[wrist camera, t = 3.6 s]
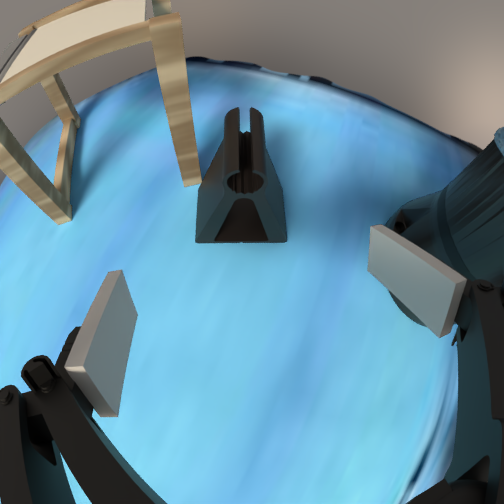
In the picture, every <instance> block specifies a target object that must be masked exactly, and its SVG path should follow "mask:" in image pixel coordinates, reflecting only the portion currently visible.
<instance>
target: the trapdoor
mask: <svg viewBox="0 0 504 504" xmlns="http://www.w3.org/2000/svg"><path fill="white" fill-rule="evenodd" d="M144 21H146V0H111V1H107V2H104V3H101V4H97V5H94V6H91V7H88V8H85V9H82V10H80V11H77V12H74V13H71V14H69V15H66V16H64V17H61V18H59V19H57V20H54V21H52V22H50V23H47V24H45V25H43V26H41V27H39V28H37V29H33V30H32V31H31V32H30V34H29V35H27V34H26V35H24V36H22V37H20V38H18V39H17V40H15V41H13V42H11V43H10V44H9V45H8V46H7V48H6V49H5V50H4V51H3V53H2V54H1V55H0V84H1V83H2V82H4V81H6V80H7V79H9V78H10V77H12V76H14V75H15V74H17V73H19V72H20V71H22V70H24V69H26V68H27V67H29V66H31V65H33V64H35V63H37V62H38V61H40V60H42V59H44V58H46V57H48V56H50V55H52V54H55V53H57V52H59V51H61V50H63V49H65V48H68V47H70V46H72V45H75V44H77V43H80V42H82V41H85V40H87V39H90V38H92V37H95V36H98V35H101V34H103V33H106V32H109V31H112V30H116V29H119V28H122V27H125V26H129V25H132V24H136V23H140V22H144ZM5 102H6V101H5ZM5 102H3V103H5ZM3 103H2V104H3ZM2 104H0V105H2Z"/></svg>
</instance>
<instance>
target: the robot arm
mask: <svg viewBox="0 0 504 504" xmlns="http://www.w3.org/2000/svg"><path fill="white" fill-rule="evenodd" d="M494 136H495V138H494V140H493V141H492V142H491V143H490V144H489V145H488V146H487V147H486V148H485V149H484V150H483V151H482V152H481V153H480V154H479V155H478V156H477V157H476V158H475V159H474V160H473V161H472V162H471V163H470V164H469V165H468V166H467V167H466V168H465V169H464V170H463V171H462V172H461V173H460V174H459V175H458V176H457V177H456V178H455V179H454V180H453V181H451V182H450V183H449V184H448V185H447V186H446V187H445V188H444V189H443V190H441V191H438V192H435V193H432V194H429V195H426V196H423V197H420V198H417V199H415V200H412V201H410V202H408V203H406V204H405V205H403V206H402V207H401V208H400V209H399V210H398V211H397V212H396V213H395V214H394V215H393V216H392V217H391V218H390V219H389V220H388V222H387V224H386V225H385V226H383V225H382V224H380V225H374V226H370V243H369V258H368V270H367V271H368V272H370V273H371V274H372V275H373V276H374V277H375V278H376V279H377V280H378V281H380V282H381V283H382V284H383V285H384V286H385V287H386V288H387V289H388V291H389V293H390V295H391V296H392V298H393V300H394V301H395V303H396V304H397V306H398V307H399V308H400V309H401V311H402V312H403V313H404V314H405V315H406V316H408V317H409V318H410V319H411V320H413V321H414V322H416V323H418V324H420V325H422V326H425V327H428V328H429V329H430V330H431V331H432V332H433V333H434V334H435V335H436V336H437V337H438V338H441V337H443V336H445V335H447V334H449V333H450V332H451V329H452V326H453V324H458V328H457V331H456V334H455V336H454V339H453V341H452V345H451V346H454V343H455V342H456V341H457V350H458V411H457V425H456V435H455V444H454V452H453V458H452V462H451V465H450V467H449V469H448V470H447V472H446V474H445V477H444V479H443V480H442V481H440V482H439V483H437V484H435V485H434V486H432V487H431V488H429V489H428V490H426V491H424V492H423V493H421V494H419V495H418V496H416V497H414V498H413V499H412V500H410V501H409V502H407V503H406V504H504V127H502V128H499V129H498V130H497V131H496V133H495V134H494ZM137 316H138V314H137V311H136V309H135V306H134V303H133V301H132V298H131V295H130V292H129V289H128V286H127V283H126V280H125V277H124V274H123V271H122V270H117V271H111V272H108V274H107V276H106V278H105V279H104V281H103V283H102V285H101V287H100V289H99V291H98V293H97V295H96V297H95V299H94V301H93V303H92V305H91V307H90V309H89V311H88V313H87V315H86V318H85V320H84V322H83V324H82V326H81V327H75V328H74V330H73V331H72V332H71V333H70V334H69V335H68V337H67V339H66V341H65V345H64V346H63V348H62V352H60V355H59V357H58V359H57V362H56V364H55V366H54V365H53V363H52V361H51V360H50V359H49V358H48V356H44V355H40V356H36V357H34V358H32V359H30V360H29V361H28V362H27V363H26V364H25V365H24V367H23V369H22V371H21V377H22V378H23V380H24V381H25V383H26V384H27V385H28V387H29V388H30V389H31V390H32V391H29V392H26V393H22V394H21V392H20V391H19V390H18V389H17V388H16V386H14V385H8V386H5V387H4V388H2V389H1V390H0V499H1V504H76V503H75V500H74V497H73V494H72V492H71V489H70V486H69V482H68V479H67V476H66V473H65V469H64V466H63V462H62V458H61V454H62V456H63V458H64V460H65V462H66V463H67V465H68V467H69V469H70V470H71V472H72V474H73V475H74V477H75V479H76V480H77V482H78V483H79V485H80V486H81V488H82V490H83V491H84V493H85V494H86V496H87V497H88V498H89V500H90V501H91V503H92V504H167V503H166V502H165V501H164V500H163V499H162V498H161V497H160V496H159V495H158V494H157V493H156V492H155V491H154V490H153V489H152V488H151V487H150V486H149V485H148V484H147V483H146V482H145V481H144V480H143V479H142V478H141V477H140V476H139V475H138V474H137V473H136V471H135V470H134V469H133V468H132V467H131V466H130V465H129V463H128V462H127V461H126V460H125V459H124V458H123V456H122V455H121V454H120V453H119V451H118V450H117V449H116V448H115V446H114V445H113V444H112V443H111V441H110V440H109V439H108V437H107V436H106V435H105V433H104V432H103V431H102V429H101V428H100V427H99V425H98V424H97V422H96V421H95V420H94V419H93V417H92V413H93V408H94V409H95V411H96V412H97V413H98V414H99V416H100V417H118V414H119V407H120V400H121V394H122V388H123V383H124V377H125V372H126V367H127V361H128V357H129V352H130V347H131V342H132V338H133V333H134V329H135V325H136V320H137ZM60 452H61V454H60ZM487 481H488V483H487Z"/></svg>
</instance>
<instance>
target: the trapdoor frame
mask: <svg viewBox="0 0 504 504" xmlns="http://www.w3.org/2000/svg"><path fill="white" fill-rule="evenodd" d="M107 1H111V0H82V1H80V2H77V3H74V4H72V5H70V6H67V7H65V8H63V9H61V10H59V11H57V12H54V13H52V14H50V15H48V16H46V17H44V18H42V19H40V20H39V21H36V22H34V23H32V24H30V25H28V26H27V27H25V28H23V29H22V31H21V32H20V33H19V34H18V35H19V38H20V37H22V36H24V35H26V34H27V35H29V34H30V32H31V31H32V30H33V29H37V28H39V27H41V26H43V25H45V24H47V23H50V22H52V21H54V20H57V19H59V18H61V17H64V16H66V15H69V14H71V13H74V12H77V11H80V10H82V9H85V8H88V7H91V6H94V5H97V4H101V3H104V2H107ZM152 5H153V12H154V17H153V18H149V20H148V21H144V22H140V23H136V24H132V25H129V26H125V27H122V28H119V29H116V30H112V31H109V32H106V33H103V34H101V35H98V36H95V37H92V38H90V39H87V40H85V41H82V42H80V43H77V44H75V45H72V46H70V47H68V48H65V49H63V50H61V51H59V52H57V53H55V54H52V55H50V56H48V57H46V58H44V59H42V60H40V61H38V62H37V63H35V64H33V65H31V66H29V67H27V68H26V69H24V70H22V71H20V72H19V73H17V74H15V75H14V76H12V77H10V78H9V79H7V80H6V81H4V82H2V83H1V84H0V104H2V103H3V102H5V101H7V100H8V99H10V98H11V97H13V96H15V95H16V94H18V93H20V92H22V91H23V90H25V89H27V88H29V87H31V86H33V85H34V84H36V83H38V82H41V84H42V86H43V88H44V90H45V91H46V94H47V95H48V97H49V99H50V101H51V103H52V105H53V106H54V108H55V110H56V112H57V114H58V115H59V117H60V119H61V121H62V122H63V124H64V125H63V129H62V134H61V139H60V145H59V150H58V156H57V163H56V170H55V178H54V185H53V184H52V183H51V182H50V181H49V179H48V178H47V177H46V176H45V175H44V173H43V172H42V171H41V170H40V169H39V167H38V166H37V165H36V164H35V163H34V161H33V160H32V159H31V158H30V156H29V155H28V154H27V153H26V151H25V150H24V149H23V147H22V146H21V145H20V144H19V142H18V141H17V140H16V138H15V137H14V136H13V134H12V133H11V132H10V130H9V129H8V128H7V126H6V125H5V123H4V122H3V121H2V119H1V118H0V169H1V170H2V171H3V172H4V173H5V174H6V175H7V176H8V177H9V178H10V179H11V180H12V181H13V182H14V183H15V184H16V185H17V186H18V187H19V188H20V189H21V190H22V191H23V192H24V193H25V194H26V195H27V196H28V197H29V198H30V199H31V200H32V201H33V202H34V203H35V204H36V205H37V206H38V207H39V208H40V209H41V210H42V211H43V212H45V213H46V214H47V215H48V216H49V217H50V218H51V219H52V220H53V221H54V222H56V223H57V224H58V225H60V224H63V223H66V222H69V221H71V220H72V205H71V204H70V186H71V173H72V163H73V154H74V146H75V139H76V133H77V128H79V127H80V121H81V119H80V117H79V115H78V113H77V111H76V109H75V107H74V105H73V103H72V101H71V99H70V97H69V95H68V92H67V91H66V89H65V86H64V84H63V82H62V80H61V78H60V75H59V72H61V71H63V70H65V69H67V68H70V67H72V66H75V65H77V64H80V63H82V62H84V61H87V60H90V59H92V58H95V57H98V56H101V55H103V54H106V53H109V52H112V51H115V50H119V49H122V48H125V47H129V46H132V45H136V44H139V43H143V42H146V41H152V46H153V51H154V56H155V61H156V67H157V72H158V77H159V82H160V86H161V91H162V96H163V100H164V105H165V110H166V114H167V118H168V123H169V127H170V131H171V136H172V140H173V144H174V148H175V152H176V156H177V160H178V164H179V168H180V172H181V176H182V180H183V184H184V187H187V186H192V185H196V184H200V183H202V178H201V172H200V166H199V159H198V152H197V146H196V139H195V132H194V125H193V117H192V110H191V102H190V95H189V87H188V78H187V70H186V61H185V53H184V43H183V33H182V23H181V18H180V15H179V13H178V12H177V13H171V3H170V0H152Z"/></svg>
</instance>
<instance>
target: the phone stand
mask: <svg viewBox="0 0 504 504" xmlns="http://www.w3.org/2000/svg"><path fill="white" fill-rule="evenodd" d="M250 132H251V133H250ZM250 132H247V131H246V132H245V133H242V132H241V131H240V110H239V107H237V108H234V109H232V110H231V111H229V112H228V113H227V114H226V116H225V121H224V139H223V141H222V143H221V145H220V146H219V148H218V150H217V152H216V154H215V156H214V158H213V160H212V162H211V164H210V166H209V168H208V171H207V173H206V175H205V177H204V179H203V181H202V183H201V185H200V187H199V189H198V202H197V218H196V238H195V242H196V243H240V242H243V243H284V242H287V235H286V223H285V212H284V201H283V191H282V187H281V185H280V182H279V179H278V177H277V174H276V172H275V169H274V167H273V164H272V162H271V159H270V156H269V154H268V152H267V149H266V145H265V133H264V121H263V116H262V114H261V113H260V112H259V111H258V110H256V109H254V108H252V107H251V108H250Z"/></svg>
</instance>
